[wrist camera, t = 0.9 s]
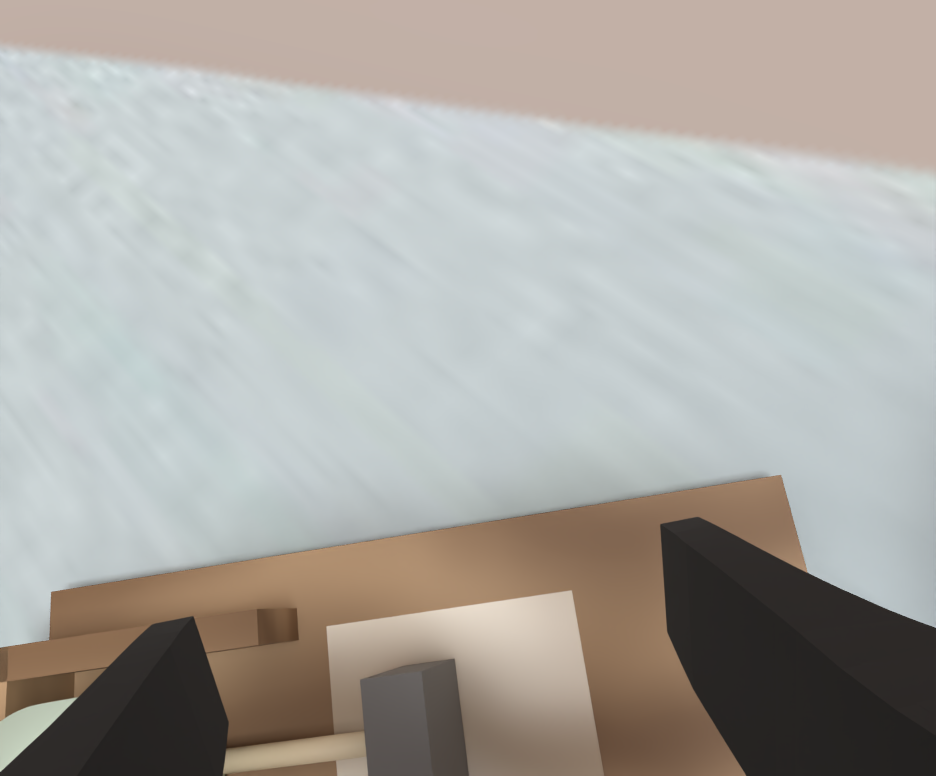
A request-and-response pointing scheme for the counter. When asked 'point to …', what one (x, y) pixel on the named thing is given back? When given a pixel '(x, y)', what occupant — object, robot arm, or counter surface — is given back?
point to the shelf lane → (442, 636)
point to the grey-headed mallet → (383, 740)
